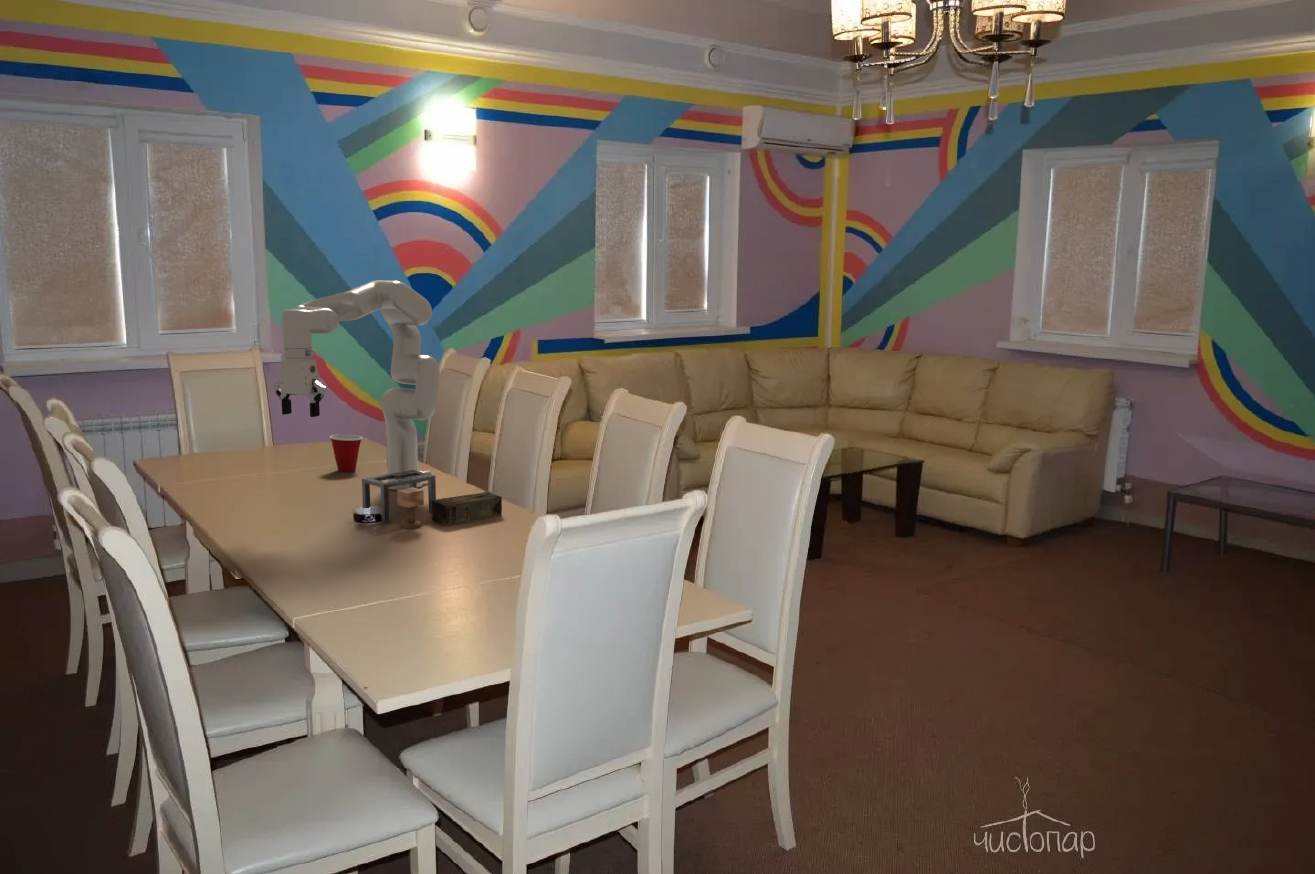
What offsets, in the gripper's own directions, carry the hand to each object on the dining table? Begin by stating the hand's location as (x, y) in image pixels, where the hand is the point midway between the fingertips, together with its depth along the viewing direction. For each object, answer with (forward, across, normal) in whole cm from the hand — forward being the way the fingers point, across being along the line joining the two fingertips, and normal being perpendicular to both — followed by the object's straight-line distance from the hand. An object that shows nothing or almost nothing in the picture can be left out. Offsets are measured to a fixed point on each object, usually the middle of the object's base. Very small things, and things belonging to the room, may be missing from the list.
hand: (300, 415), depth 283 cm
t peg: (+29, -34, -2) cm, 45 cm away
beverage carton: (+29, -43, -16) cm, 55 cm away
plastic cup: (+29, +27, -54) cm, 67 cm away
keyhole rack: (+29, -24, -11) cm, 39 cm away
